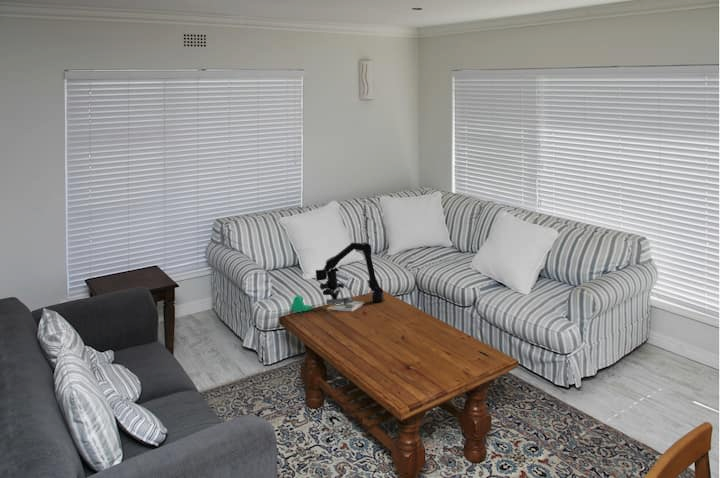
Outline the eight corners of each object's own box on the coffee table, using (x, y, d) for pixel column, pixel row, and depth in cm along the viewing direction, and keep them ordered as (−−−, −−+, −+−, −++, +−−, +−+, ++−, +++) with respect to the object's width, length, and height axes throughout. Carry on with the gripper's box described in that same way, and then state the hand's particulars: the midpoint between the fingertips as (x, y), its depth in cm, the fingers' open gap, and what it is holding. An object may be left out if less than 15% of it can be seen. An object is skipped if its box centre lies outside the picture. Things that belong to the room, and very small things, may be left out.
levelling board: (364, 303, 392) (363, 297, 392) (352, 311, 376) (351, 304, 376) (339, 303, 400) (339, 296, 399) (326, 310, 384) (326, 303, 383)
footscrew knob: (352, 302, 392) (352, 296, 392) (352, 304, 387) (352, 298, 386) (326, 304, 392) (326, 298, 391) (326, 306, 386) (326, 300, 386)
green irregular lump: (313, 309, 389) (311, 294, 388) (305, 312, 383) (303, 297, 382) (299, 308, 396) (298, 293, 395) (291, 311, 390) (289, 295, 389)
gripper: (328, 274, 401) (331, 297, 403) (314, 282, 384) (317, 305, 387) (343, 274, 396) (345, 297, 398) (329, 282, 379) (332, 306, 382)
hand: (335, 301), depth 391 cm, fingers closed
